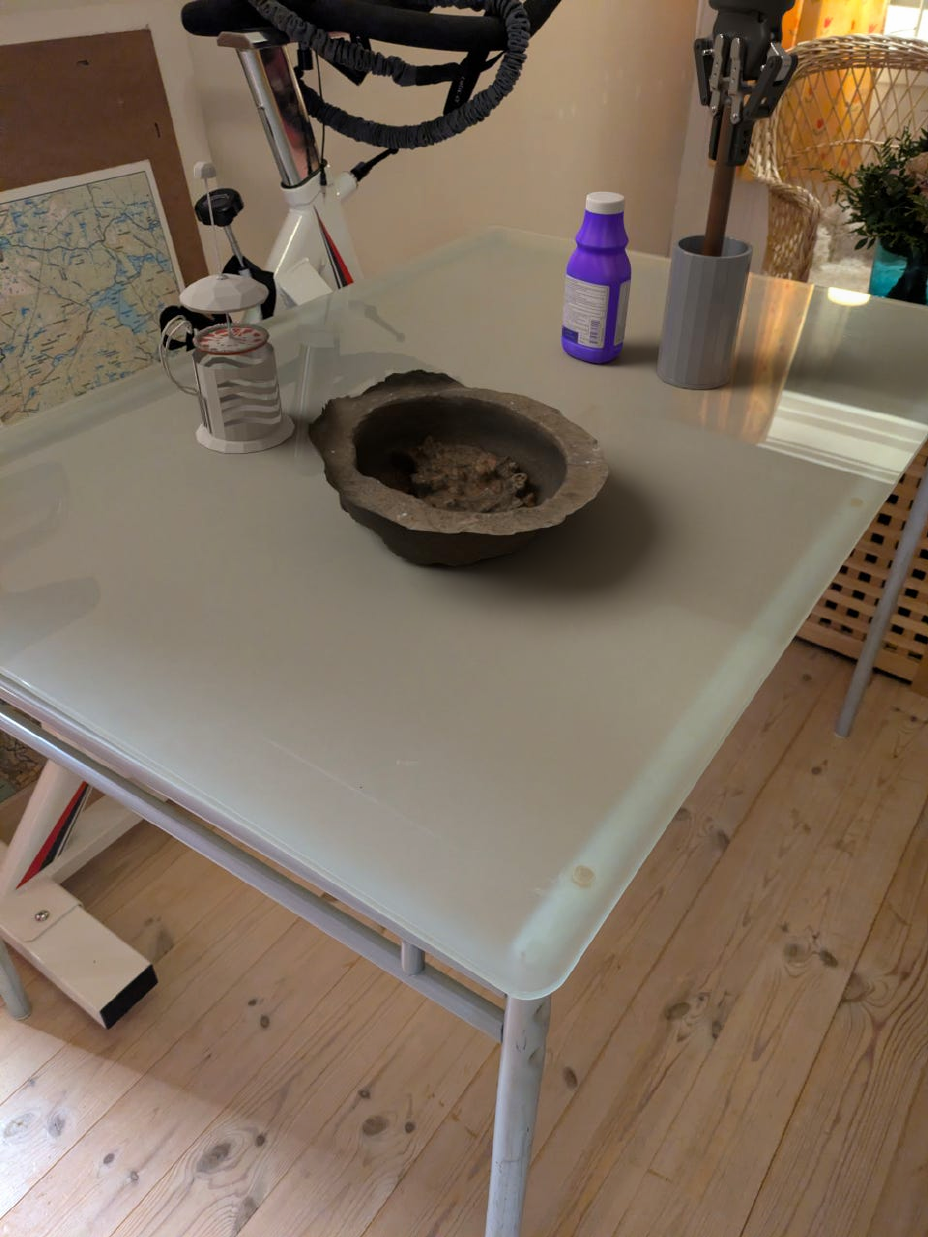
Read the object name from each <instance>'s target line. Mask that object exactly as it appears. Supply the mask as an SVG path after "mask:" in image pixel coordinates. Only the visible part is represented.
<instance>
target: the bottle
mask: <svg viewBox="0 0 928 1237" xmlns="http://www.w3.org/2000/svg"><path fill="white" fill-rule="evenodd" d="M625 206H626V197H625V195H622V194H621V193H618V192H613V191H594V192H590V193H589V194H587V195H586V198H585V207H584V208H585V209H584V215H583V220H582V224H581V226H580V228H579V230H578V232H576V235H575V237H574V241H575V243H576V248H575V249H574V250H573V253H572V254H571V255H570V257H569V260H568V261H567V265H566V268H565V269H566V270H565V271H566V272H565V284H564V294H563V296H564V297H563V310H562V322H561V323H562V324H561V325H562V326H561V337H560V339H561V340H560V341H561V346H562V349H563V351H564V353H566V354H568V355H569V356H571V357H574V358H576V359H578V360H581V361H585V362H588V363H591V364H592V363H593V364H605V363H607V362H610V361H611V360H615V359H616V358H617V357H618V356H619V355H620V354H621V351H622V349H623V348H624V347H623V346H624V341H625V335H626V334H625V333H626V326H627V317H628V308H629V302H630V291H631V284H632V265H631V261H630V258H629V256H628V254H627V251H626V248H627V246H628V244H629V242H630V241H629V240H630V238H629V237H628V235H627V232H626V229H625V219H624V216H625Z"/></svg>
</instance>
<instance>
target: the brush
mask: <svg viewBox="0 0 928 1237" xmlns="http://www.w3.org/2000/svg"><path fill="white" fill-rule="evenodd" d="M745 105H746V104H744V106H743V107H745ZM731 107H732V103H728V104H725V105H724V110H723V117H722V123H721V130H720V137H719V143H718V150H717V157H716V161H715V164H714V171H713V178H712V183H711V191H710V197H709V202H708V204H709V205H708V210H707V218H706V223H705V231H704V234H705V237H704V243H703V250H702V255H703V256H713V257H721V256H722V250H723V244H724V238H725V235H726V231H727V225H728V219H729V213H730V207H731V200H732V194H733V188H734V184H735V183H734V182H735V177H736V170H737V166H736V167H729V166H726V165H724V163H723V160H724V153H725V147H726V140H727V134H728V127H729V123H732V122H731V119H730V116H731Z"/></svg>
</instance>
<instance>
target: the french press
mask: <svg viewBox="0 0 928 1237" xmlns="http://www.w3.org/2000/svg"><path fill="white" fill-rule="evenodd" d="M193 176H194V178H196V179H200V180H201V179H202V180H204V185H205V193H206V198H207V204H208V211H209V217H210V224H211V229H212V235H213V242H214V248H215V253H216V261H217V267H218V274H212V275H210V274H209V275H208V276H206V277H203V278H200V279H198V280H197V281H195V282H193V283H191V284H190V285H188V286H187V287H186V288H185V289H184V290H183V291H182V292H181V293H180V294H179V296H178V298H179V301H180V304H181V305H182V307H184V308H185V309H187V310H189V311H190V312H193V313H200V314H206V315H207V314H209V315H210V314H211V315H213V314H214V315H224V314H225V315H226V316H225V317H226V322H225V323H221V324H220V323H217V324H214V325H212V326H206V327H205V328H203V329H201V330H200V331H197V332H196V333H195V334H194V336H193V338H192V339H191V342H192V344H193V346H194V347H195V348H194V351H193V352H192V354H191V358H192V359H191V360H192V363H193V369H194V374H195V379H196V385H197V389H196V388H195V387H192V386H188V385H184V384H181V383H180V382H179V381H177V380H176V379H175V377H174V376H173V374H172V372H171V370H170V364H169V358H168V355H169V347H170V343H171V340H172V339H173V337H174V336H175V334H176V332H177V331H178V329H180V328H181V327H182V326H184V330H186V332H187V333H188V334H190V335H192V334H193V325H192V323H191V321H189V320H187V319H186V317H185V316H184V315H183V314H180V315H179V314H178V315H176V316H175V317H174V318H173V319H171V320H170V321H168V322H167V324H166V325H165V327H164V329H163V331H162V333H161V336H160V339H159V346H158V354H159V359H160V363H161V366H162V368H163V371H164V373H165V375H166V376H167V377H168V378H169V380H170V381H171V382H172V383H173V384H174V386H175V387H176V389H178V390H180V391H182V392H183V393H185V394H187V395H191V396H194V397H197V403H198V408H199V413H200V418H201V424H200V425H199V427H198V429H197V430H196V432H195V436H196V439H197V442H198V443H199V444H201V445H202V446H203V447H205V448H206V449H208V450H211V451H214V452H220V453H224V454H249V453H255V452H261V451H262V452H263V451H265V450H268V449H270V448H273V447H276V446H278V445H281V444H282V443H283V442H285V441H287V439H289V438H290V437H291V436H292V435H293V432H294V430H295V427H296V425H295V424H294V422H293V419H292V418H291V417H290V416H288V415H287V414H286V413H284V412H283V406H282V399H281V392H280V383H279V376H278V368H277V360H276V351H275V347H274V346H273V344H272V343H271V342H269V338H270V333H269V331H268V329H266V328H264V327H263V326H260V325H259V324H257V325H256V324H253V323H251V324H250V323H249V322H248V323H247V322H245V323H244V322H235V323H234V322H231V321H230V318H229V314H233V313H240V312H244V311H247V310H250V309H255V308H256V307H258V306H261V305H263V304H264V303H265V302H266V300H267V298H268V296H269V294H270V291H269V289H268V288H267V286H266V285H265V284H263V283H261V282H259V281H258V280H256V279H254V278H253V277H249V276H244V275H238V274H233V273H222V267H221V261H220V254H219V248H218V242H217V235H216V230H215V224H214V217H213V216H214V215H213V210H212V205H211V199H210V192H209V186H208V179H213V178H216V177H217V171H216V168H215V166H214V164H213V163H212V162H210V161H207V160H206V161H205V160H203V161H198V162H197V163H196V164H195V165H194V166H193ZM178 319H182V321H181V322H179V324H177V326H175V327H174V328H173V329H172V331H171V333H170V335H169V336H168V338H167V341H166V344H165V345H166V346H165V353H163V346H164V340H165V337H166V333H167V332H168V331H169V328H170V327H171V325H172V324H174V322H176V321H177V320H178ZM207 355H212V357H211V358H210V359H208V360H207V361H206V362H204V364H203V365H201V362H202V360H203V358H204V357H206V356H207ZM226 356H240V357H242V358H248V359H251V360H261V362H259V363H256V364H251V363H248V362H244V361H239V360H236V359H234V358H233V359H232V358H230V357H226ZM219 364H226V365H228V366H229V365H230V366H233V367H236V368H214V367H212V366H214V365H219ZM236 380H241V381H244V382H249V383H253V384H264V387H262V386H255V385H245V384H241V383H236V382H234V381H236ZM221 388H223V389H221ZM189 390H191V391H193V392H191V391H189ZM240 393H244V394H245V393H247V394H253V395H256V396H257V395H258V396H266V399H259V398H253V397H247V396H244V395H240Z"/></svg>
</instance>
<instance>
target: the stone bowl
mask: <svg viewBox="0 0 928 1237" xmlns="http://www.w3.org/2000/svg"><path fill="white" fill-rule="evenodd" d="M324 404H325V405H324V406H322V407H321V413H320V415H318V417H316V418H315V420H314V421H313V423H312V422H310V423H307V424H308V425H307V433H306V434H307V437H308V440H309V441H310V443H311V445H312V447H313V450H314V451H315V452H317V454H318V455H319V457H320V459H321V460H322V462H323V465H324V466H323V467H324V469H323V474H324V476H325V481H326V482H327V483H328V485H329V486H330V487H331V489H334V490H335V492H337V494H338V499H339V505H340V508H341V509H342V510H343V511H344V512H345V513H347V514H348V515H349V517H350V518H351V519H352V520H354V522H356V523H357V524H360V525H361V526H363V527H366V528H368V529H370V530H371V531H373V532H374V533H375V534H377V535H378V536H379V538H380V539H381V540H382V542H383V544H384V545H385V547H387V548H388V549H389V551H390V552H392V553H393V554H394V555H395V556H397V557H399V558H401V559H405V560H407V561H409V562H411V563H415V564H419V565H431V564H436V563H438V564H442V565H443V564H444V565H447V566H449V567H457V566H464V565H467V564H468V565H471V564H474V563H475V562H478V561H480V560H487V559H491V558H497V557H500V556H503V555H507V554H508V555H509V554H513V553H519V551H521V550H522V549H523V548H525V547H526V545H528V543H529V542H530V541H531V540H532V539H533V538H534V536H535V535H536V534H537V533H539V531H540V530H541V529H546V528H550V527H554V526H558V525H560V524H562V523H563V521H564V520H565V519H566V516H568V515H572V514H574V513H575V512H576V511H577V510H580V509H581V508H583V507H584V506H585V505H587V503H589V502H591V501H592V500H595V498H596V497H597V495H598V493H599V492H600V491H601V489H602V488H603V486H604V485H605V483H606V481H607V479H608V477H609V467H608V465H607V462H606V461H604V458H602V456H603V454H604V451H602V450H601V449H600V446H599V444H598V442H599V440H597V439H596V438H595V437H594V436H592V434H590V433H589V432H588V431H586V429H584V428H582V427H581V426H580V425H578V424H577V423H575V422H573V421H571V420H569V419H568V418H567V417H565V416H564V415H563V414H562V412H561V410H560V409H557V408H554V407H552V406H550V405H547V404H546V403H544V402H540V401H539V400H536V399H534V398H532V397H529V396H526V395H523V394H516V393H512V392H506V391H505V392H504V391H497V390H495V389H489V388H482V387H481V388H480V387H475V386H474V387H469V386H466V385H464V384H463V383H462V382H461V381H459V380H457V379H455V378H452V377H451V376H449V375H448V374H447V373H446V372H445V373H444V372H437V373H436V372H435V371H426V370H424V369H421V368H420V369H419V368H418V369H412V370H409V371H406V372H393V373H391V374H389V375H387V376H385V377H384V380H381V381H377V383H375V384H374V385H370V386H369V387H367V388H366V389H365V390H364V391H363V392H362V393H361V394H360V395H356V396H353V397H351V396H350V395H349V394H347V395H345V396H344V397H339V396H337V397H336V398H329V399H328V401H327V403H326V402H325V403H324Z"/></svg>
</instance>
